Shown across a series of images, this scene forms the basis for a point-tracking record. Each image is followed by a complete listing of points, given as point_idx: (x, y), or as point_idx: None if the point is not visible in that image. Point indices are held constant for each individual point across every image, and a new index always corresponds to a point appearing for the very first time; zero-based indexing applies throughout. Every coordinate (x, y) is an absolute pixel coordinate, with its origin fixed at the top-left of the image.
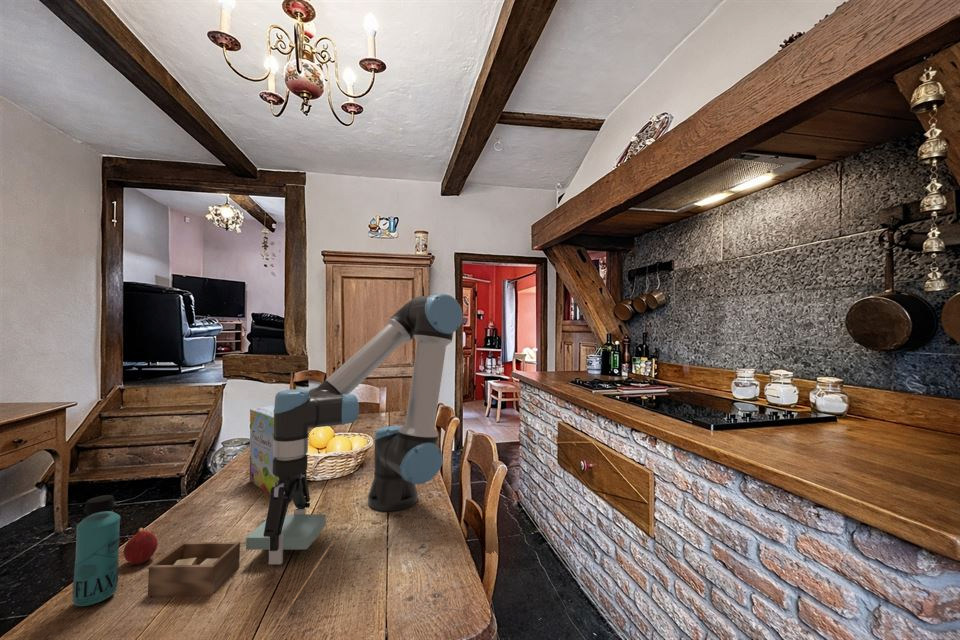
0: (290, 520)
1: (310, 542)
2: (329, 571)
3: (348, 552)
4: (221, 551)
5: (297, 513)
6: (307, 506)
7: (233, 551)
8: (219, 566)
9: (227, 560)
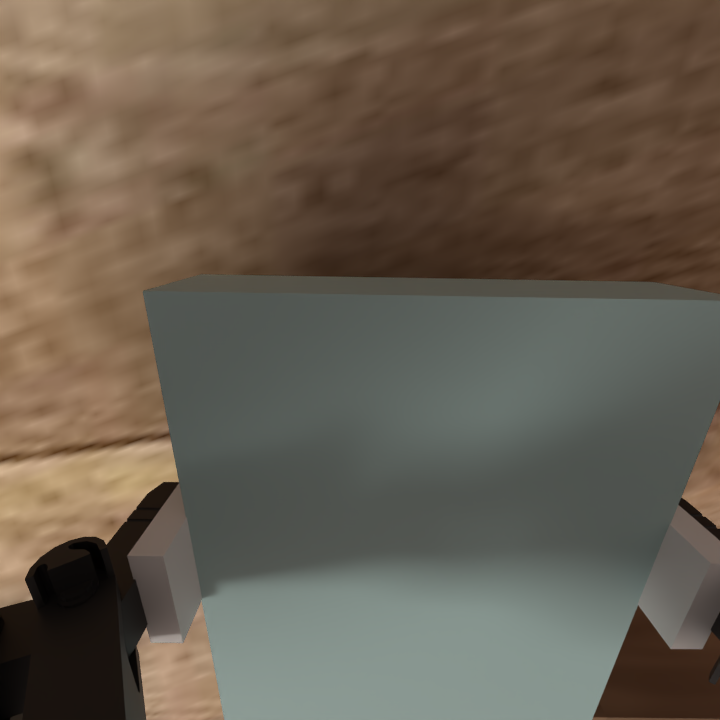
0: (325, 581)
1: (589, 284)
2: (644, 84)
3: (401, 3)
4: None
5: (194, 580)
6: (90, 563)
7: (639, 691)
8: None
9: (683, 669)
